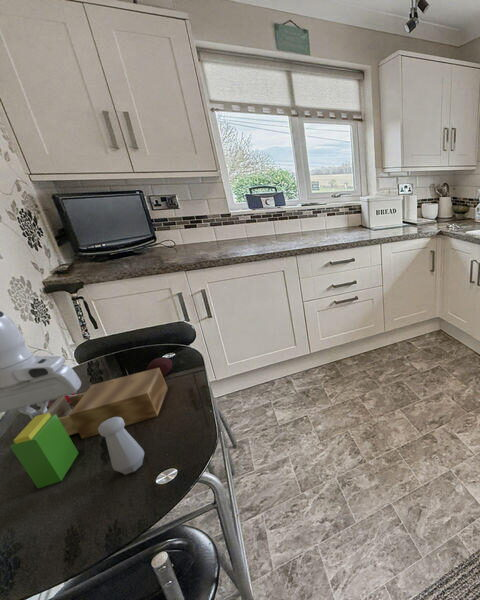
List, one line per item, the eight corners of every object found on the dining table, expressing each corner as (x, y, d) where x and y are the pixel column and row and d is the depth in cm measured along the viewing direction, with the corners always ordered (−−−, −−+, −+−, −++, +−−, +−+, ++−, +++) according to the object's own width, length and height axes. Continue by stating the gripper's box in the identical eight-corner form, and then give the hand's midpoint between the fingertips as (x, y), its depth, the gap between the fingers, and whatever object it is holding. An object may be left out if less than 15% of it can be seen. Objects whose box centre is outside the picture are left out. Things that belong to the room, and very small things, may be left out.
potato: (177, 366, 117) (171, 351, 115) (172, 378, 109) (165, 363, 107) (153, 372, 114) (146, 357, 112) (145, 385, 106) (138, 369, 104)
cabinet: (82, 438, 85) (68, 414, 82) (102, 406, 98) (91, 384, 95) (157, 416, 91) (147, 392, 88) (167, 388, 104) (159, 367, 101)
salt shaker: (130, 456, 77) (108, 412, 73) (153, 455, 77) (132, 411, 72) (109, 478, 72) (84, 432, 67) (134, 477, 72) (110, 430, 67)
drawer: (21, 452, 81) (9, 433, 79) (49, 419, 93) (39, 402, 90) (118, 423, 88) (109, 405, 86) (133, 396, 100) (125, 379, 98)
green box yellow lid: (38, 488, 71) (7, 442, 66) (58, 459, 79) (31, 416, 74) (61, 480, 73) (32, 435, 68) (78, 452, 80) (54, 410, 76)
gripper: (-56, 392, 75) (-22, 439, 79) (59, 365, 82) (83, 410, 87) (-35, 379, 80) (-5, 423, 85) (70, 354, 87) (93, 397, 92)
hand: (41, 416), depth 86 cm, fingers closed
